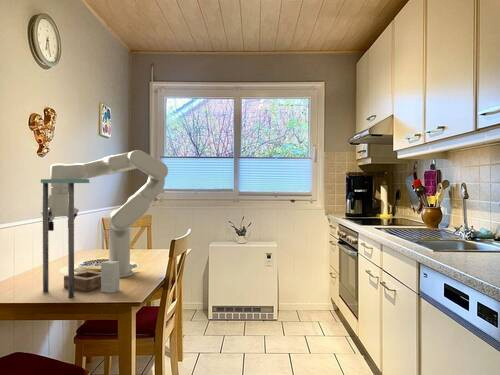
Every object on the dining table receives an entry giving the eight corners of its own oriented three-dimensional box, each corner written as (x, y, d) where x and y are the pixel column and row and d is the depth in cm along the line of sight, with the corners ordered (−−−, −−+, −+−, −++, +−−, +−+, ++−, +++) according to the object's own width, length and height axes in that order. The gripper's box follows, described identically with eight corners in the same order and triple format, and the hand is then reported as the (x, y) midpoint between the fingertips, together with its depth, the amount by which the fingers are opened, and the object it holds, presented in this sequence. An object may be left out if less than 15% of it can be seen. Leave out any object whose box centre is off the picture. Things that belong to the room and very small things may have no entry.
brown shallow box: (88, 281, 168) (88, 270, 168) (110, 285, 161) (110, 273, 161) (63, 287, 157) (63, 276, 157) (86, 292, 151) (86, 280, 151)
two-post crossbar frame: (59, 286, 159) (59, 179, 158) (89, 293, 150) (89, 179, 149) (41, 291, 152) (40, 179, 151) (71, 298, 143) (71, 179, 142)
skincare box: (120, 290, 154) (119, 261, 154) (114, 293, 150) (113, 263, 150) (106, 289, 155) (106, 260, 155) (100, 292, 151) (100, 262, 151)
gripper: (72, 191, 178) (72, 227, 179) (36, 191, 163) (37, 231, 163) (82, 191, 175) (83, 227, 175) (47, 192, 160) (47, 232, 160)
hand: (61, 229), depth 169 cm, fingers open, 9 cm apart
